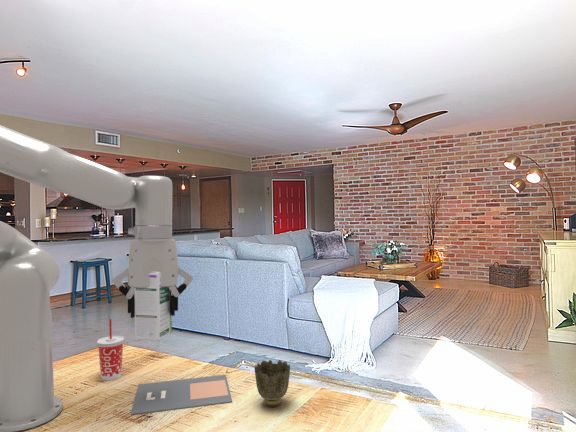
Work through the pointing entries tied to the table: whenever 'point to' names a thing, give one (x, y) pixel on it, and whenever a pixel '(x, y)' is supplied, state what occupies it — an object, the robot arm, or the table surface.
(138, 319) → the syrup box
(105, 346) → the beverage cup
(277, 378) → the cup
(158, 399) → the mat
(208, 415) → the table surface
